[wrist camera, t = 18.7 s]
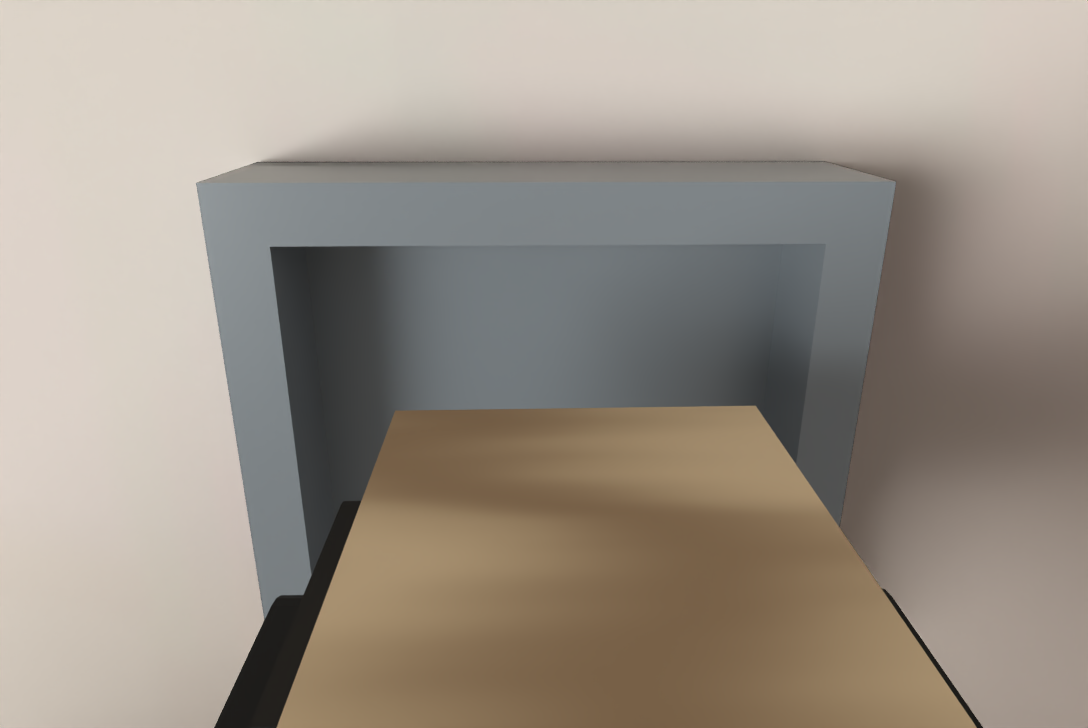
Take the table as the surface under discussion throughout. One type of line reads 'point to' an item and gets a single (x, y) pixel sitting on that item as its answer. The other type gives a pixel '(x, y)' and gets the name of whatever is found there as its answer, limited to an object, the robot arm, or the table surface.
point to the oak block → (604, 585)
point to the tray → (528, 309)
